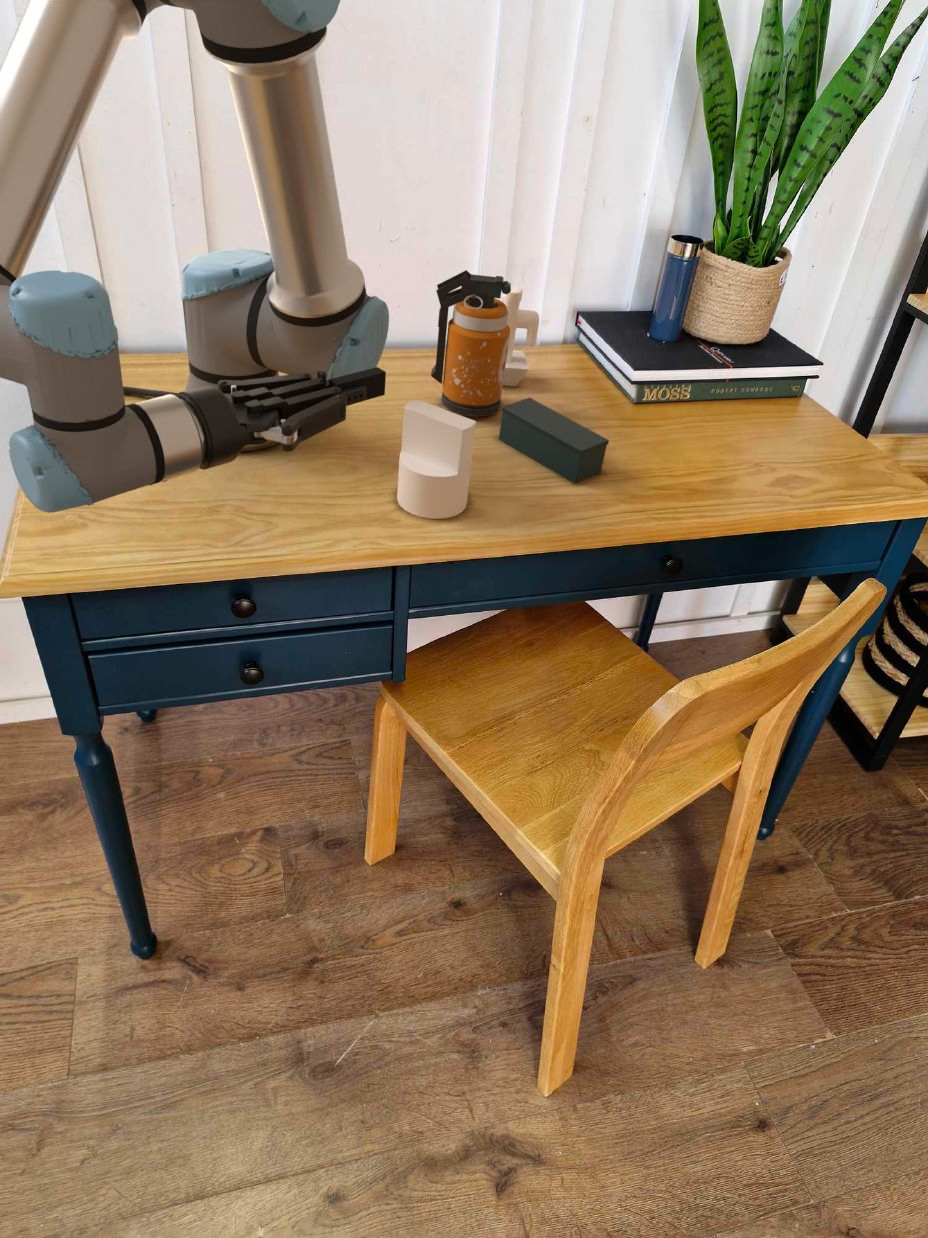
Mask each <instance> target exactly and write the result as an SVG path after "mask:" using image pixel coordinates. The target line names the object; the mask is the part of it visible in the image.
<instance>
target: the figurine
mask: <svg viewBox="0 0 928 1238" xmlns="http://www.w3.org/2000/svg"><path fill="white" fill-rule="evenodd" d="M523 291H524V290H523V288H521V287H519V285H518V284H512V283H511V291H510V293H509V294H504V293H502V300H503V301H502V302H503V303H504V304H505V305H506V307H507V310H508V321H507V325H508V326H509V327H510V335H509V343H508V350H507V358H506V365H505V373H504V381H503V387H504V386H505V387H517V385H518V384H519V383H520V382H521V381H522V379H523V378H524V377H525V375H526V374H527V373H528V372H529V370H530V367H529V364H528V361H527V357H526V354H525V351H524V350H515V349H514V346H515V340H516V331H517V329H526V337H525V343H526V345H527V346H529V347H534V346H535V345H536V344H537V338H538V332H539V326H540V315H539V313H538V312H537V311H535V310H530V309H520V305H521V302H522V299H523Z"/></svg>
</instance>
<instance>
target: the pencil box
mask: <svg viewBox="0 0 928 1238" xmlns="http://www.w3.org/2000/svg"><path fill="white" fill-rule="evenodd" d="M498 440H500V441H502V442H503V443H505V444H507V445H508V446H511V447H512V448H514V449H515V450H517V451H518V452H520V453H522V454H524V455H526V457H527V456H528V457H529V458H531V459H532V460H534V461H535V462H537V463H538V464H540V465H542V466H544V467H546V468H547V469H548V470H550V471H553V472H554V473H556V474H558V475H559V476H561V477H563V478H565V479H566V480H568V481H569V482H571V483H573V484H577V483H579V482H582V481H584V480H587V479H589V478H591V477H594V476H596V475H598V474H601V473H602V470H603V465H604V460H605V455H606V450H607V446H608V445H609V442H610V440H609V439H608V438H605V437H604V436H602V435H600V434H598V433H596V432H595V431H593V430H591V429H589V428H587V427H586V426H583V425H582V424H580V423H578V422H576V421H574V420H572V419H570V418H568V417H567V416H565V415H562V414H561V413H559V412H558V411H555V410H553V409H551V408H550V407H548V406H546V405H544V404H542V403H540V402H539V401H537V400H535V399H533V398H531V397H527V398H524V399H521V400H518V401H515V402H512V403H509V404H506V405H503V406H501V420H500V427H499V435H498Z"/></svg>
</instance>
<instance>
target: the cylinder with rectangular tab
mask: <svg viewBox="0 0 928 1238" xmlns="http://www.w3.org/2000/svg"><path fill="white" fill-rule="evenodd" d="M402 417H403V418H402V433H401V449H400V453H399V461H398V474H397V475H398V476H397V491H396V498H397V500H396V501H397V503H398V504H399V506H400V508H402V509H403V510H404V511H405V512H407V513H410V514H411V515H413V516H415V517H416V516H417V517H420V518H424V519H430V520H431V519H432V520H433V519H434V520H443V519H449V518H452V517H455V516H457V515H459V514H461V513H462V512H463V511H464V510H466V507H467V504H468V497H469V489H470V479H471V472H472V464H473V463H472V462H473V461H472V459H473V458H472V457H473V450H474V440H475V433H476V432H475V431H476V426H477V425H476V424H477V421H476V420H474V419H471V418H469V417H467V416H464V415H461V414H458V413H455V412H453V411H451V410H448V409H446V408H445V409H444V408H442V407H439V406H437V405H434V404H431V403H428V402H426V401H423V400H420V399H414V400H412V401H410V402H408V403H407V404H405V405H404V406H403V416H402Z"/></svg>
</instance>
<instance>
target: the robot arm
mask: <svg viewBox="0 0 928 1238" xmlns="http://www.w3.org/2000/svg"><path fill="white" fill-rule="evenodd" d="M340 4H341V0H28V2H27V4H26V7H25V9H24V11H23V14H22V16H21V19H20V21H19V23H18V24H17V25H18V26H17V28H16V30H15V32H14V35H13V37H12V38H11V42H10V44H9V46H8V47H7V50H6V53H5V56H4V58H3V59H2V62H1V64H0V378H1V379H4V380H7V381H10V382H13V383H15V384H16V383H17V384H19V385H22V386H23V385H24V386H25V387H26V389H27V390H26V391H27V394H28V399H29V404H30V409H31V413H32V420H33V424H31V425H29V426H26V427H24V428H22V429H19V430H17V431H14V432H13V433H12V434H11V435H10V437H9V441H8V446H9V450H8V453H9V454H8V455H9V458H10V463H11V467H12V469H13V473H14V475H15V478H16V480H17V482H18V484H19V486H20V489H21V490H22V492H23V494H24V495H25V497H26V499H28V501H29V502H30V503H31V504H32V505H33V507H35V508H36V509H37V510H39V511H41V512H44V513H47V514H48V513H50V514H53V513H57V512H63V511H67V510H71V509H74V508H79V507H83V506H84V507H85V506H88V507H89V506H93V505H94V504H95V503H98V502H102V501H105V500H108V499H110V498H114V497H116V496H119V495H122V494H125V493H127V492H132V491H136V490H138V489H141V488H144V487H147V486H153V485H156V484H160V483H166V482H168V481H169V480H172V479H176V478H179V477H183V476H187V475H191V474H193V473H196V472H198V471H199V470H202V471H205V470H209V469H212V468H215V467H219V466H222V465H226V464H228V463H232V462H234V461H235V460H236V459H237V458H238V457H239V455H240V453H241V452H251V451H258V450H263V449H267V448H270V447H273V446H275V445H278V444H279V443H281V446H280V447H281V450H282V451H284V452H286V453H287V452H289V453H290V452H293V451H294V450H295V449H296V448H297V447H298V446H299V445H300V443H302V442H304V441H306V440H308V439H310V438H312V437H315V436H317V435H318V434H320V433H322V432H324V431H326V430H329V429H330V428H332V427H334V426H337V425H338V424H340V423H342V422H345V421H346V420H347V407H348V406H352V405H355V404H359V403H362V402H364V401H368V400H372V399H375V398H379V397H380V398H381V397H383V396H385V395H386V377H387V372H386V371H385V370H384V369H382V368H380V367H379V366H378V365H379V362H380V360H381V357H382V356H383V353H384V348H385V346H386V343H387V338H388V332H389V326H390V312H389V311H390V310H389V306H388V305H387V303H386V302H385V301H384V300H382V299H380V298H379V296H377V295H373V296H371V295H369V294H367V288H366V282H365V276H364V274H363V271H362V269H361V268H360V266H359V265H358V264H357V263H356V262H355V261H353V259H351V258H349V256H348V249H347V244H346V238H345V232H344V226H343V225H344V224H343V219H342V213H341V206H340V200H339V195H338V189H337V188H338V187H337V183H336V176H335V170H334V164H333V157H332V151H331V150H332V149H331V144H330V140H329V132H328V127H327V120H326V114H325V107H324V102H323V101H324V100H323V95H322V90H321V82H320V77H319V71H318V64H317V58H316V52H317V51H318V49H319V48H320V47H321V45H322V44H323V43H324V41H325V40H326V37H327V35H328V26H329V24H331V22H332V21H333V19H334V17H336V14H337V12H338V9H339V6H340ZM163 6H169V7H173V8H174V7H175V8H180V9H185V10H189V11H193V13H194V15H195V18H196V21H197V22H196V23H197V26H198V30H199V33H200V37H201V41H202V45H203V49H204V50H205V52H206V53H207V54H208V55H209V56H210V57H211V58H212V59H214V60H215V61H217V62H219V63H220V64H222V65H223V66H225V70H226V74H227V80H228V83H229V87H230V92H231V95H232V100H233V104H234V107H235V112H236V116H237V120H238V124H239V129H240V133H241V136H242V141H243V145H244V149H245V154H246V157H247V162H248V165H249V169H250V175H251V178H252V182H253V187H254V191H255V195H256V199H257V203H258V208H259V212H260V215H261V220H262V225H263V228H264V233H265V236H266V239H267V245H268V248H269V249H268V250H269V252H267V251H264V250H258V249H248V248H247V249H244V248H243V249H242V248H239V249H238V248H237V249H224V250H223V249H222V250H217V251H211V252H207V253H204V254H200V255H197V256H195V257H193V258H190V260H188V261H187V262H186V263H185V264H184V266H183V268H182V270H181V294H180V299H181V301H182V309H183V321H184V330H185V331H184V332H185V340H186V349H187V359H188V370H189V371H188V373H189V374H188V378H187V383H186V386H185V390H184V391H179V392H173V391H165V390H157V389H148V388H140V387H134V386H125V385H123V376H122V366H121V359H120V358H121V357H120V350H119V333H118V328H117V325H116V324H115V320H114V315H113V311H112V305H111V299H110V295H109V292H108V290H107V289H106V287H105V286H104V285H103V284H102V283H101V282H100V281H99V280H98V279H96V278H95V277H93V276H90V275H88V274H86V273H82V272H78V271H65V272H64V271H61V270H42V271H35V272H31V273H28V274H23V273H24V270H25V269H26V266H27V263H28V261H29V258H30V257H31V253H32V251H33V250H34V247H35V245H36V242H37V239H38V237H39V236H40V233H41V231H42V228H43V225H45V224H44V223H45V221H46V219H47V216H48V214H49V212H50V211H51V210H50V209H51V207H52V205H53V202H54V200H55V199H56V195H57V193H58V191H59V188H60V186H61V184H62V181H63V179H64V176H65V174H66V173H67V170H68V168H69V165H70V163H71V160H72V158H73V155H74V154H75V152H76V149H77V147H78V144H79V142H80V139H81V138H82V135H83V132H84V130H85V128H86V125H87V123H88V121H89V118H90V116H91V114H92V111H93V109H94V107H95V105H96V102H97V100H98V98H99V95H100V92H101V91H102V88H103V85H105V81H106V79H107V77H108V74H109V72H110V70H111V67H112V65H113V62H114V60H115V58H116V56H117V54H118V51H119V49H120V46H121V44H122V42H123V41H130V40H134V39H135V38H137V37H138V36H139V34H140V32H141V29H142V27H143V25H144V22H145V20H146V18H147V16H148V15H149V14H150V13H152V12H153V11H154V10H155V9H157V8H161V7H163ZM280 373H282V374H283V375H280ZM125 394H128V395H136V396H144V397H151V399H150V398H149V399H145V400H142V401H141V400H140V401H138V402H134V403H129V404H126V400H125Z"/></svg>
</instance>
